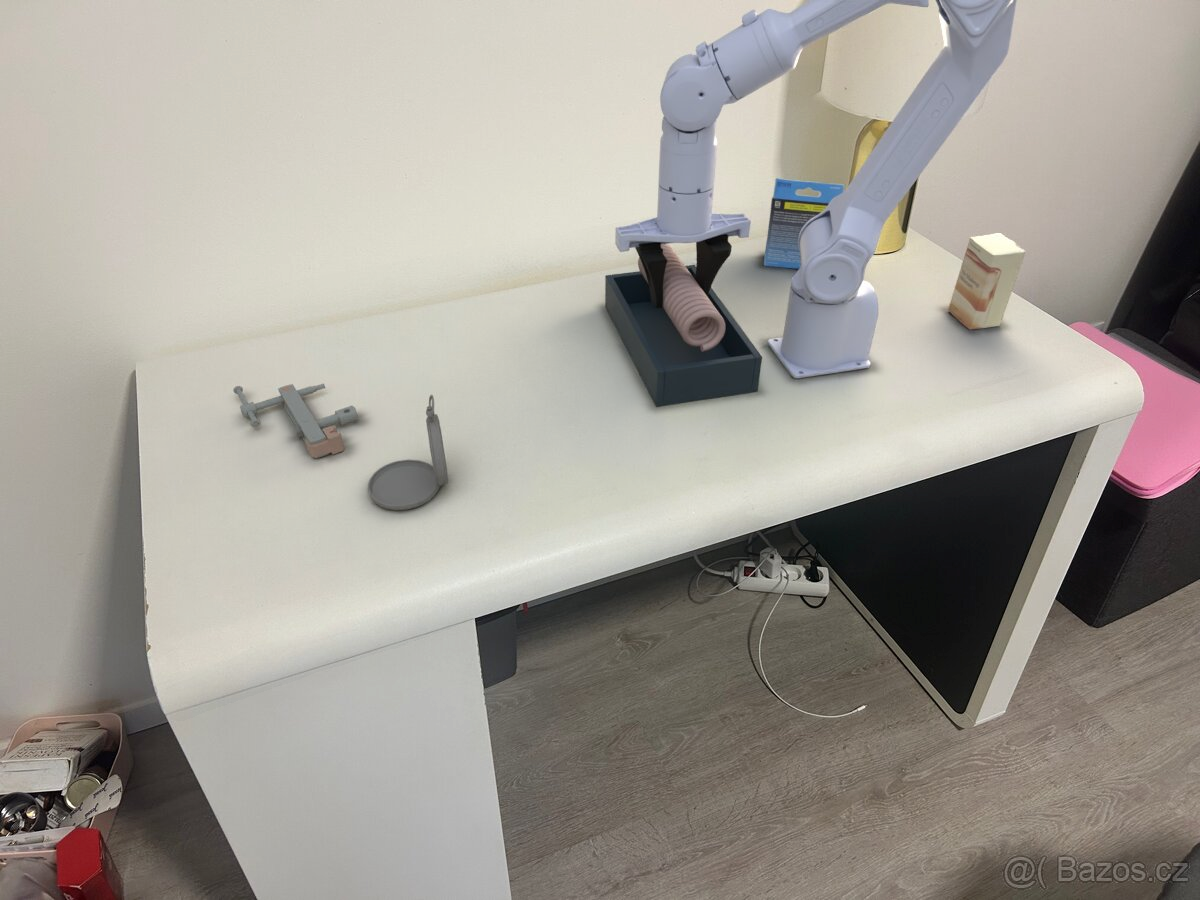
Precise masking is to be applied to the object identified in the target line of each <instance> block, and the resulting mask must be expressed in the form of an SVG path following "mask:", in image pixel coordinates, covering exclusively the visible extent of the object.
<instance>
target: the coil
mask: <svg viewBox="0 0 1200 900" xmlns="http://www.w3.org/2000/svg"><path fill="white" fill-rule="evenodd" d="M661 248H662V249H663V254H664V256H665V257H666V259H667V260H668V261H667V264H666V268H665V273H664V280H663V303H662V306H663V308H664V309H665V311H666V313H667V314H668V316H669V318H670V319H671V321H672V322H673V324H674V326H675V327H676V328H677V330H678V332H679V333H680V335H681V337H682V338H683V340H684V341H685V342H686V343H687V344H688V345H690V346H693V347H700V349H701V351H702V352H703V351H707V350H710V349H712V348H713V347H715V346H716V345H717V344H718V343H719V342H720V341H721V340H722V338H723V336H724V333H725V322H724V319H723V317H722V316H721V315H720V313H719V312H718V311H717V310H716V308H715V306H714V305H713V304H712V302H711V301H710V300H709V298H708V297H707V296H706V294H705V293H704V292H703V290H702V289H701V288H700V286H699V284H698V283H697V282H696V280H695V279H694V277H693V276H692V275H691V273H690V272H689V271H688V269H687V268H686V267H685V266H686V265H685V264H684V262H683V261H682V259H681V258H680V257H679V256H678V254H677V253H676V251H675V249H674V248H673V247H671V246H670V245H669V244H661ZM637 267H638V271H640V272H641V273H642V275H643V276H644V278H645V280H646V281H647V283H648V280H647V276H646V273H645V270H644V267H643V265H642V262H641V260H640V257H639V256H638V259H637Z"/></svg>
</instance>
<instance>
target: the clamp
mask: <svg viewBox="0 0 1200 900" xmlns="http://www.w3.org/2000/svg"><path fill="white" fill-rule="evenodd" d="M324 389H326V385H325V383H321V384H317V385H313V386H311V385H310V386H307V387H303V388H301V389H297V388H296V387H295V385H294V384H293V383H292V384H291V383H290V384H287V385H284V386H283V385H282V386H281V387H278V388H277V390H278V393H279V394H280V395H278V396H275V397H272V398H268V399H266V400H262V401H259V402H254V401H251V402H248V400H247V399H246V396H245V395H244V388H243V386H241V385H236V386H234V387H233V389H232V390H233V393H234V394H236V395H237V396H238V398H239V400H240V402H241V405H240V407H239V409H240V412H241V414H242V416H243V417H244V418H248V417H249V419H250V426H251V427H252V428H258V427H260V426H261V424H262V423H261V420H260V419H258V418H257V417H256V415H257V414H258V412H259V411H262V410H265V409H267V408H271V407H274V406H277V405H280V404H282V406H283V408H284V409H285V411H286V413H287V415H288V416H289V418H290V420H291V421H292V423H293V425H294V427H293V430H294V433H295V435H296V437H297V438H300V437H301V438H302V440H303V442H304V443H305V446H306V450H307V452H308V453H309V456H310V457H311V458H314V459H319V458H322V457H325V456H328V455H330V454H331V455H336V454H338V453H339V454H340V453H341V452H343V451H344V450H345V445H344V442H343V439H342V434H341V432H338V430H337V424H340V426H343V425H346V424H349V423H352V422H355V421H357V420H359V415H358V412H357V408H356V407H355V406H354V405H349V406H346V407H343V408H340V409H337V410H335V411H334V414H331V415H328V416H325V417H322V418H319V419H315V418H314V416H313V414H312V413H311V411H310V410H309V407H308V406H307V405H306V403H305V402H304V401H305V400H303V398H302V397H305V396H308V395H311V394H314V393H315V392H317V391H320V390H324Z"/></svg>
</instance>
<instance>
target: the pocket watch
mask: <svg viewBox="0 0 1200 900" xmlns="http://www.w3.org/2000/svg"><path fill="white" fill-rule="evenodd" d="M425 414H426V418H425V422H426V430H427V437H428V444H429V450H430V457H431V463H432V465H431V464H430V463H429V462H426V461H423V460H419V459H403V460H396V461H392V462H390V463H387V464H385V465H383V466H382V467H380V468H378V469H377V470H376V471H374V472H373V474H372V475H371V476H370V478H369V480H368V482H367V493H368V495H369V498H370V500H372V502H373V503H375V504H376V505H377V506H379V507H381V508H384V509H386V510H393V511H405V510H410V509H415V508H417V507H420V506H422V505H424V504H426V503H427V502H429V501H431V500H432V498H434V496H435V495H436V494H437V493H438V491H439V489H440V486H444V485H447V484H448V481H449V475H448V467H447V460H446V454H445V453H446V452H445V447H444V440H443V434H442V428H441V427H442V426H441V423H440V419H439V415H438V414H437V413H435V397H434V395H433V394H430V395H429V398H428V406H427V407H426V410H425Z"/></svg>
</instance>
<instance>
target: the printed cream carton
mask: <svg viewBox="0 0 1200 900" xmlns="http://www.w3.org/2000/svg"><path fill="white" fill-rule="evenodd" d="M1026 253H1027V251H1026V250H1025V249H1024V248H1023V247H1021V246H1020V245H1018V243H1017V242H1015V241H1014V240H1012V239H1011V238H1009V237H1007V236H1006V235H1005V234H1004V233H1002V232H996V233H988V234H979V235H974V236H970V237H969V240H968V243H967V247H966V249H965V253H964V256H963V260H962V262H961V267H960V269H959V273H958V276H957V279H956V282H955V285H954V289H953V293H952V296H951V298H950V302H949V305H948V309H947V310H948V312H949V313H950V314H951V315H952V316H953V317H954V318H955V319H957V320H958V321H959V322H960V323H961V324H962V325H963V326H964V327H965V328H966V329H968V330H970V331H971V330H978V329H979V330H980V329H987V328H993V327H1000V326H1001V324H1002V320H1003V318H1004V314H1005V311H1006V309H1007V306H1008V304H1009V301H1010V297H1011V296H1012V291H1013V289H1014V286H1015V285H1016V284H1015V283H1016V281H1017V278H1018V275H1019V272H1020V269H1021V266H1022V264H1023V261H1024V258H1025V255H1026Z"/></svg>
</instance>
